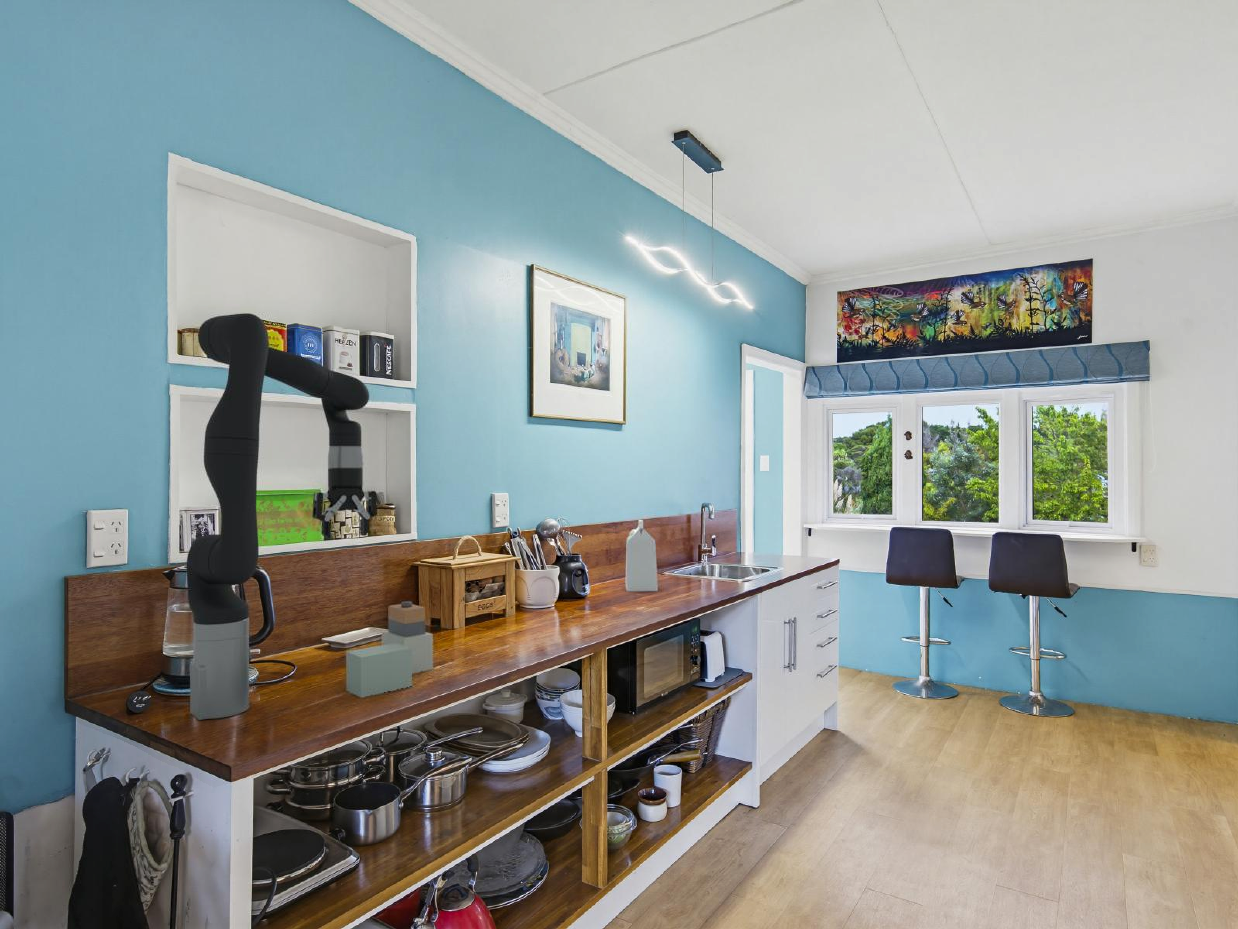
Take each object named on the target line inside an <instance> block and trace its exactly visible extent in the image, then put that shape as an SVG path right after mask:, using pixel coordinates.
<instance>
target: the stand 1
mask: <svg viewBox="0 0 1238 929" xmlns="http://www.w3.org/2000/svg"><path fill="white" fill-rule="evenodd" d="M345 654H346V656H345V657H346V658H345V660H346V662H345V664H346V673H345V674H346V675H345V676H346V678H345V681H346V684H345V685H346V688H345V689H346V690H345V691H346V692H348V691H349V693H351V694H352V695H355V696H357V697H358V698H361V699H362V698H367V697H371V695H372V696H376V695H380V694H384V692H385V693H389V692H388V691H390V692H394V691H397V689H399V690H402V689H401V688H403V689H407V687H408V688H411V687H410V686H412V687H413V674H412V648H410V647H407V646H404V645H401V644H398V643H392V644H386V645H382V644H381V645H376V646H370V647H364V648H360V649H359V648H358V649H353V650H349V651H348V650H347V651H346V653H345ZM366 696H367V697H366Z"/></svg>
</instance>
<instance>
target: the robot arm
mask: <svg viewBox="0 0 1238 929" xmlns="http://www.w3.org/2000/svg"><path fill="white" fill-rule="evenodd" d="M197 339H198V340H197V341H198V344H199V347H200V349H201V351H202V352H203V354H205V356H207V357H208V358H209V359H211V360H212V361H214V362H217V363H220V364H224V365H227V366H228V373H227V374H228V376H227V381H226V385H225V389H224V391H223V393H222V396H221V397H220V399H219V401H218V403H217V404H216V406H215V408H214V410H213V412H212V414H211V415H210V417H209V419H208V423H207V424H206V428H205V431H204V444H203V447H204V448H203V465H204V470H205V473H206V476H207V478H208V480H209V482H210V485H211V486H212V489H213V491H214V493H215V496H216V497H217V500H218V504H219V508H220V515H221V516H220V518H221V519H220V520H221V522H220V525H221V526H220V534H216V533H215V534H214V533H213V534H205V535H202V536H200V537H198V538H196V539H195V541H194V542H192V544H191V546H190V548H189V550H188V554H187V557H186V584H187V588H186V589H187V602H188V606H189V609H190V611H191V612H192V618H193V661H191V662H189V663H190V664H189V675H190V676H189V678H190V680H189V686H190V687H189V701H190V702H189V705H190V706H189V707H190V708H189V709H190V710H189V712H190V714H191V715H192V716H193V717H195V718H196V719H197V720H198V721H202V720H208V719H222V718H228V717H233V716H235V715H239V714H241V713H243V712H246V711H247V710H248V709H250V639H249V638H250V608H249V604H248V602H247V601H246V600H244V599H242V598H241V597H239V595H237V594H236V592H235V591H234V589H233V585H236V586H237V585H242V584H245V583H247V582H248V581H249V580H250V579H251V578H252V577H253V575H254V574H255V572H256V570H257V567H258V562H259V555H260V554H259V548H260V547H259V532H258V518H257V513H258V512H257V490H258V489H257V485H258V465H259V455H260V454H259V453H260V452H259V450H260V423H261V422H260V421H261V409H262V408H261V407H262V394H263V387H264V379H265V377H267V378H269V379H272V380H275V381H278V382H280V383H282V384H284V385H287V386H289V387H291V388H292V389H295V390H298V391H300V392H302V393H304V394H306V395H307V396H311V397H314V398H315V399H321V406H322V408H323V412H324V417H325V420H326V424H327V426H328V437H329V438H328V441H329V442H328V454H327V488H328V489H327V491H326V492H322V491H321V492H320V491H317V492H314V493H313V499H312V500H313V501H312V519H314V520H318V521H320V523H321V532H320V533H321V536H323V538H324V539H330V538H332V534H331V533H332V532H331V530H332V527H331V526H332V525H331V524H332V523H331V521H330V520H331V519H332V517H333V516H334V515H335V514H336V513H337V512H340V511H341V512H342V511H343V512H344V511H354V512H356V513H357V515H358V516H359V517H360V519H359V535H360V536H363V537H365V536H367V535H368V534H369V532H370V519H371V518H373V517H376V516H377V515H378V503H377V502H378V501H377V492H376V491H375V490H368V491H364V490H363V485H364V484H363V483H364V482H363V481H364V479H363V478H364V477H363V476H364V475H363V473H364V472H363V471H364V470H363V466H364V462H363V461H364V460H363V458H364V457H363V450H362V449H363V448H362V447H363V446H362V426H361V424H360V423H359V422H357V421H354V420H351V419H349V415H348V414H347V411H355V410H360V409H363V408H364V407H365V406H366V405H367V404H368V403H369V400H370V392H369V389H368V387H367V385H366V384H365V383H364V382H363V381H362V380H360V379H358V378H357V377H354V376H351V375H348V374H345V373H342V372H339V371H334V370H331V369H329V368H327V367H325V366H323V365H321V364H320V363H318V362H315V361H314V360H312V359H311V358H308V357H304V356H302V355H299V354H295V353H292V352H288V351H285V350H280V349H277V348H275V347H271V346H269V344H270V339H269V333H268V329H267V327H266V324H265V322H264V321H263V320H262V319H261V318H260V317H259V316H258V315H256V314H254V313H243V312H242V313H235V314H226V315H225V314H224V315H218V316H217V315H216V316H213V317H211V318H209V319H207V320H204V321H203V323H202V324H201V325H200V327H199V329H198V332H197ZM326 499H327V500H328V502H329V503H328V505H327V506H326V507H325V509H324V511H323V506H324V505H323V503H324V502H325V501H326ZM363 499H365V500H366V502H367V504H366V506H367V510H366V507H365V506H364V504H363V503H362V500H363Z"/></svg>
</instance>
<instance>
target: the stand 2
mask: <svg viewBox="0 0 1238 929" xmlns="http://www.w3.org/2000/svg"><path fill="white" fill-rule="evenodd" d="M392 643H398V644H401V645H404V646H407V647H410V648H412V675H413V674H418V673H422V672H421V671H423V672H427V671H431V670H434V635H433V633H430V632H426V631H425V634H422V635H416V636H410V637H402V636H399V635H396V634H393V633H390V632H388V630H381V645H386V644H392Z"/></svg>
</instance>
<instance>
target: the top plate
mask: <svg viewBox="0 0 1238 929" xmlns="http://www.w3.org/2000/svg"><path fill="white" fill-rule="evenodd" d="M387 608H388V611H387V612H388V613H387V615H388V616H387V619H390V620H394V621H397V622H400V623H404V624H407V623H414V622H420V621H425V622H426V607H425V606H421V605H417V604H413V602H412V601H410V600H409V601H408V600H407V601H402V602H401V603H399V604H391V605H388V606H387Z"/></svg>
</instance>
